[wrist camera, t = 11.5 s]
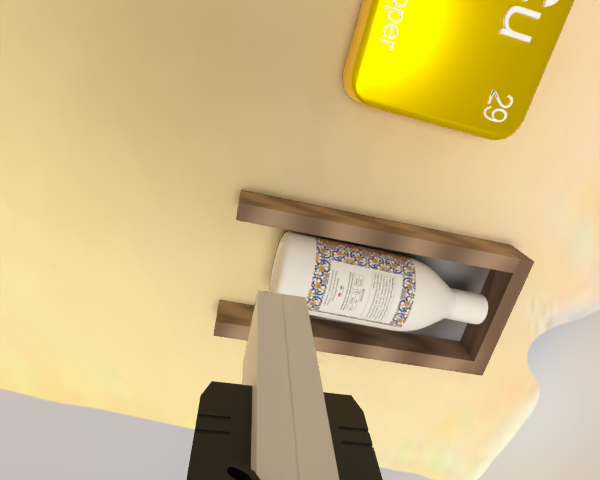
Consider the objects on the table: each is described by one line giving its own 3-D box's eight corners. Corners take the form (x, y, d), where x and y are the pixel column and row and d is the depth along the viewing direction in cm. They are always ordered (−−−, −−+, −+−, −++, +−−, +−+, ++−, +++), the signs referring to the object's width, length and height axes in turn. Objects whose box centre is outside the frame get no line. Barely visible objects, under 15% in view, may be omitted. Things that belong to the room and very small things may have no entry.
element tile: (391, -107, 34) (411, -133, 29) (562, -44, 36) (605, -59, 32) (335, 96, 39) (345, 100, 34) (489, 138, 41) (517, 147, 37)
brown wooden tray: (217, 313, 45) (213, 335, 41) (241, 190, 41) (239, 203, 37) (465, 352, 49) (482, 375, 46) (511, 245, 45) (534, 261, 41)
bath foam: (275, 243, 44) (459, 283, 47) (263, 313, 41) (458, 349, 45) (291, 217, 37) (502, 265, 41) (278, 298, 35) (504, 342, 38)
